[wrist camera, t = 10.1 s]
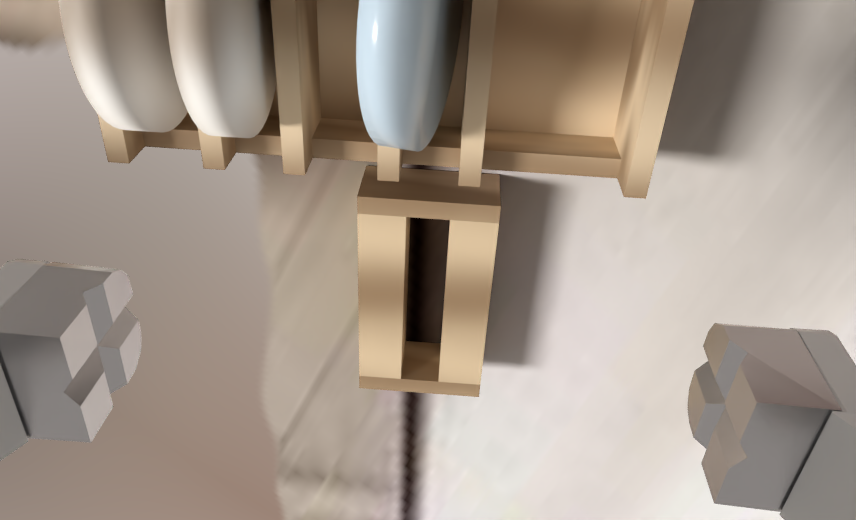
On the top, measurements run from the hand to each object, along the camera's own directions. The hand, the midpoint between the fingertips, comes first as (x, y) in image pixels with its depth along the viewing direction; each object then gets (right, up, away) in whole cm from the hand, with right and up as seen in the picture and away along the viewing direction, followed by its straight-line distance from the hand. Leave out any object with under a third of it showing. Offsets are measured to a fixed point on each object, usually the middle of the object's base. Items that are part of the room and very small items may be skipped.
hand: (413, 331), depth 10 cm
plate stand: (0, +1, +24) cm, 24 cm away
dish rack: (-1, +11, +17) cm, 20 cm away
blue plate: (+1, +10, +16) cm, 19 cm away
